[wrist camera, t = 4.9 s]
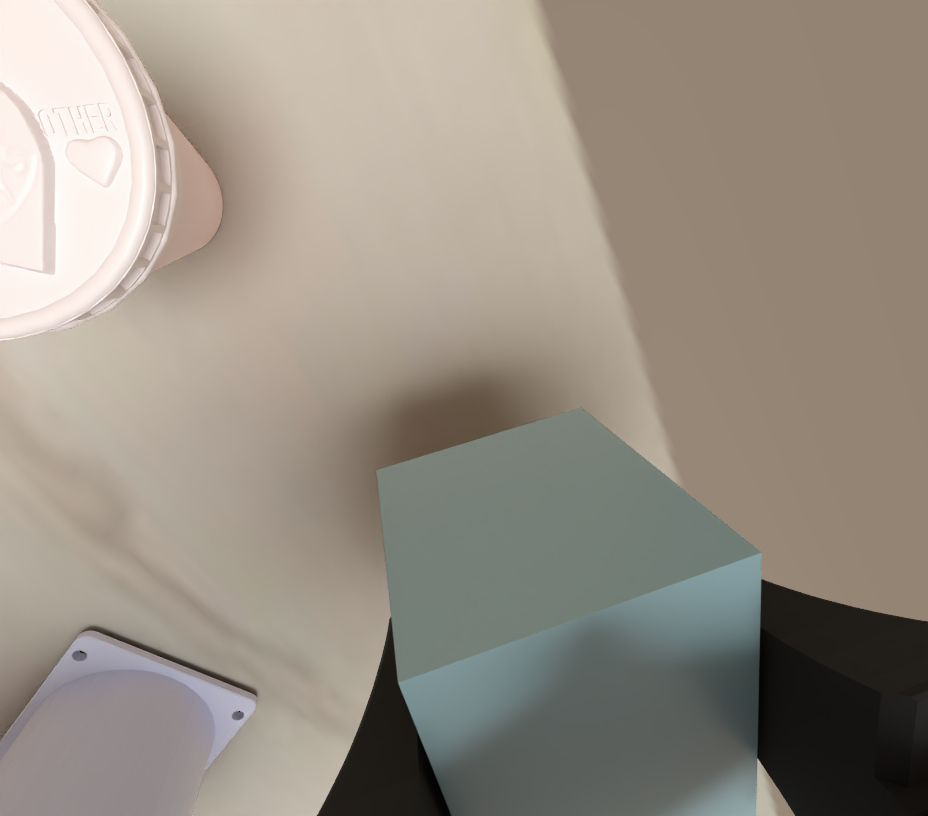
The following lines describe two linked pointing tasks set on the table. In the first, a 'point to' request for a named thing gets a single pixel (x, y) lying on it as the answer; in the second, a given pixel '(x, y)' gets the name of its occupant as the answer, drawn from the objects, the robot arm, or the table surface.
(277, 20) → the table surface
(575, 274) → the table surface
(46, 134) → the smoothie
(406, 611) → the light blue upright block
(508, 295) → the table surface
